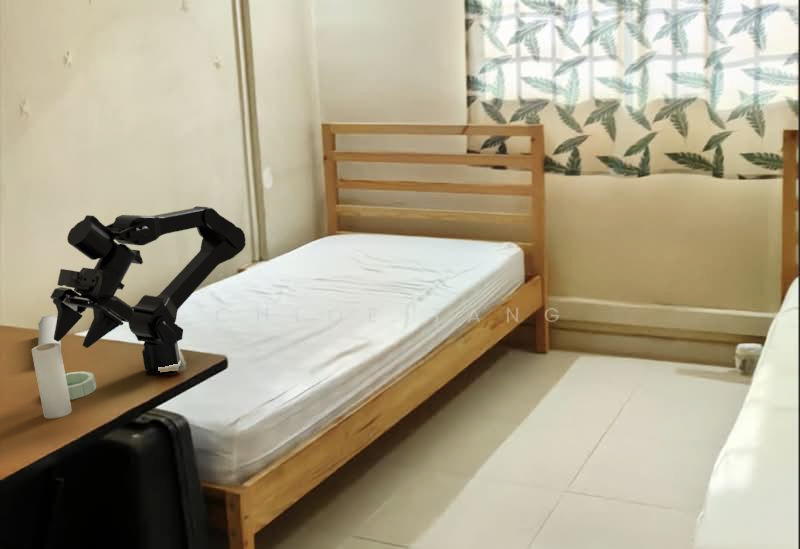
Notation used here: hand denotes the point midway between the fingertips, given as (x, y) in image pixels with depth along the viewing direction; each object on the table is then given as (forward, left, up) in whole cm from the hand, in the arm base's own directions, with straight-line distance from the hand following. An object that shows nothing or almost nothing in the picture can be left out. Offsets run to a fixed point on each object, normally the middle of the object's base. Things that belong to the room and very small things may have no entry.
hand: (70, 343), depth 185 cm
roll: (+3, +4, -12) cm, 13 cm away
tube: (+15, -37, -13) cm, 42 cm away
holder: (+3, -7, -12) cm, 15 cm away
